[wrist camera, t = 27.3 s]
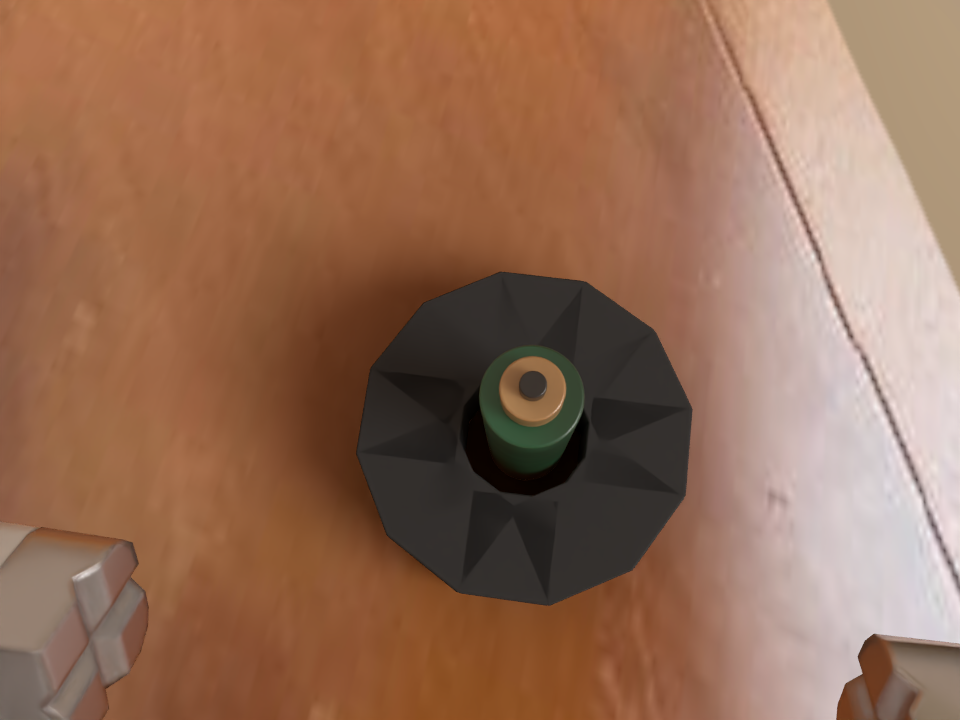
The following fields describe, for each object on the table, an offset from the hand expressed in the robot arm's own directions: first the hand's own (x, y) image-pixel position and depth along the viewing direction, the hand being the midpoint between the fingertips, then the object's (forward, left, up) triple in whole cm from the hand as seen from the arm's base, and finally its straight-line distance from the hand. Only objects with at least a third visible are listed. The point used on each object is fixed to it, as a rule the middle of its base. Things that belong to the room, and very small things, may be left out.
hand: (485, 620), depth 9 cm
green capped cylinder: (+3, +4, -22) cm, 22 cm away
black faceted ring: (+2, +4, -22) cm, 22 cm away
